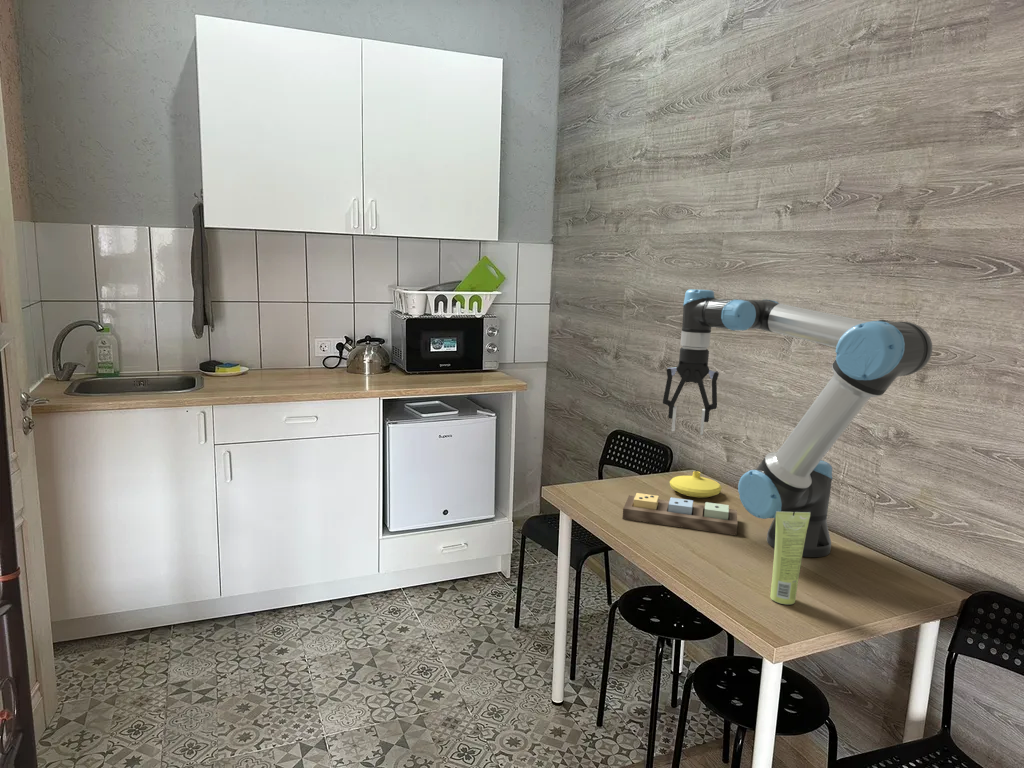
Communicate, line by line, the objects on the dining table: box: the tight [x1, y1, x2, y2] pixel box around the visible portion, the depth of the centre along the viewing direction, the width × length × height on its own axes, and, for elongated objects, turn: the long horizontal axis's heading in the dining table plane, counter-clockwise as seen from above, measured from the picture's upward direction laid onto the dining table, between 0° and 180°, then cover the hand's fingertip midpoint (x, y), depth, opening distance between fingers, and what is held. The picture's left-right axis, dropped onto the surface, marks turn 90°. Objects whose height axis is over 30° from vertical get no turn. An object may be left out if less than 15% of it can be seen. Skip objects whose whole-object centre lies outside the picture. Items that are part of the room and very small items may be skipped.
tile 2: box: [668, 497, 694, 515], centre depth 190 cm, size 6×6×3 cm
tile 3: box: [633, 492, 659, 510], centre depth 193 cm, size 6×6×3 cm
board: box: [622, 495, 739, 536], centre depth 190 cm, size 30×12×3 cm, turn 73°
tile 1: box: [704, 501, 730, 520], centre depth 187 cm, size 6×6×3 cm
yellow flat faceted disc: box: [669, 470, 722, 499], centre depth 214 cm, size 16×16×7 cm
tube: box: [769, 511, 810, 606], centre depth 144 cm, size 6×5×20 cm
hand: (687, 431), depth 186 cm, fingers open, 7 cm apart
